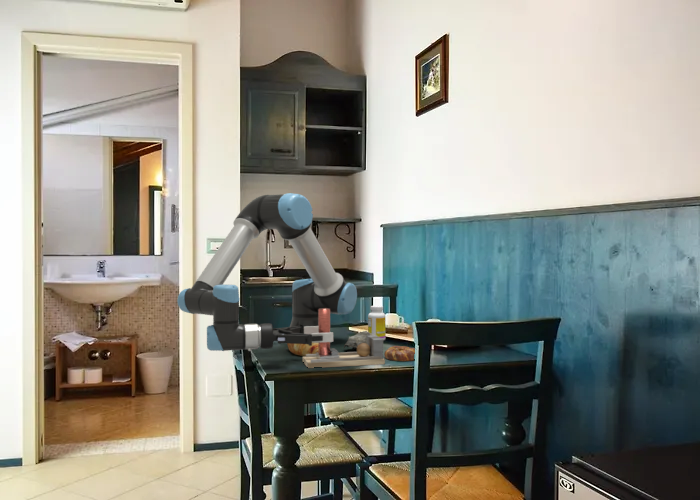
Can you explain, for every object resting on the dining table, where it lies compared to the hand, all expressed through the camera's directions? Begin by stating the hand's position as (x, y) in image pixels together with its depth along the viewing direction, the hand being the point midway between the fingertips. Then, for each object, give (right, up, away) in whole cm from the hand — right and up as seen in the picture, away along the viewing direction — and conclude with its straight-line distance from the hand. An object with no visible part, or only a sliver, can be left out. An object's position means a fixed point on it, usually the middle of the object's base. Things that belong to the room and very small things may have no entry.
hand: (328, 333), depth 185 cm
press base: (+4, -9, +2) cm, 11 cm away
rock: (+10, -9, +22) cm, 26 cm away
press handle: (0, -8, 0) cm, 8 cm away
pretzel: (+23, -10, +9) cm, 27 cm away
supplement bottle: (+17, -9, +43) cm, 47 cm away
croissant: (-8, -9, +16) cm, 20 cm away
